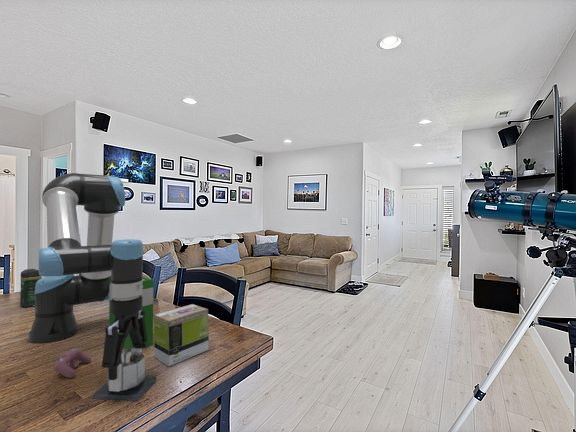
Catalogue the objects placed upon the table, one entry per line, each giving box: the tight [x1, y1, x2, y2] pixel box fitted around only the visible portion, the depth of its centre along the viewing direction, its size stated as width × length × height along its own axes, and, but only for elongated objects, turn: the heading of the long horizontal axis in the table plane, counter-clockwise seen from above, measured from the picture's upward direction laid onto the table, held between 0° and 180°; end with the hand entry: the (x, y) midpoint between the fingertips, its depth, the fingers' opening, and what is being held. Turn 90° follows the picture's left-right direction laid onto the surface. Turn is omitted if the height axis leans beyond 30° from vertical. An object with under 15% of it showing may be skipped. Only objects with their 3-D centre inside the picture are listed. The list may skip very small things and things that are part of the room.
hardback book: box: [108, 276, 154, 350], centre depth 108 cm, size 18×7×24 cm, turn 54°
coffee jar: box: [19, 268, 43, 308], centre depth 150 cm, size 10×8×19 cm
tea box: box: [153, 303, 210, 367], centre depth 100 cm, size 15×10×15 cm, turn 141°
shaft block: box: [92, 349, 157, 402], centre depth 79 cm, size 12×9×10 cm
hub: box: [106, 351, 146, 391], centre depth 79 cm, size 8×8×6 cm
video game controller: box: [54, 347, 92, 379], centre depth 88 cm, size 10×5×7 cm, turn 6°
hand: (126, 380), depth 79 cm, fingers closed on hub, 8 cm apart
